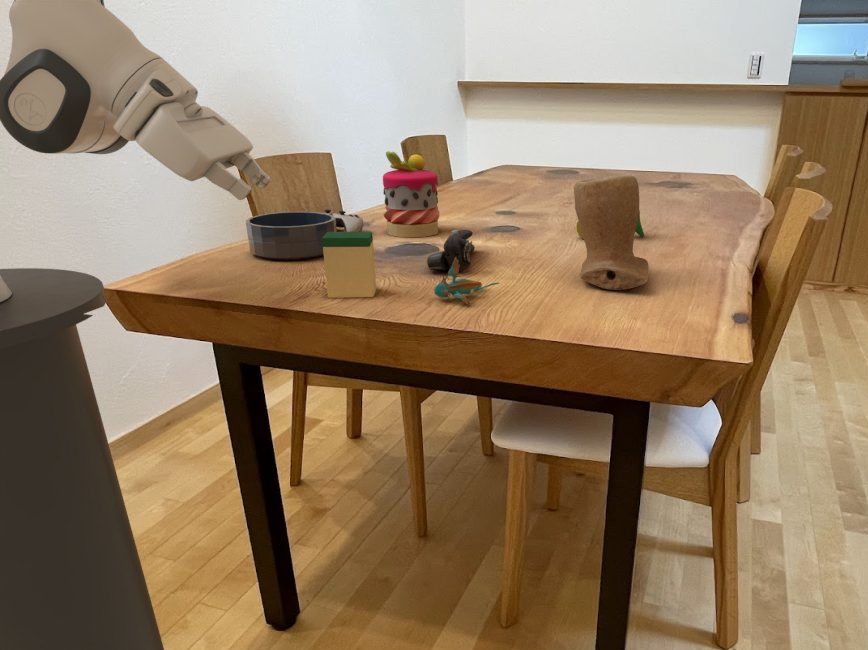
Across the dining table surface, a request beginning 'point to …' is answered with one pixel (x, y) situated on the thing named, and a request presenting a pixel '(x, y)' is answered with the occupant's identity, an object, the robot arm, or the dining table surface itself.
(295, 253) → the bowl
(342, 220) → the gaming controller
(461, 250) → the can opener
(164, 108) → the robot arm
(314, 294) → the dining table surface
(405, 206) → the cake
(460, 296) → the dragon figurine
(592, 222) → the brown clay sculpture
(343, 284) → the sponge
